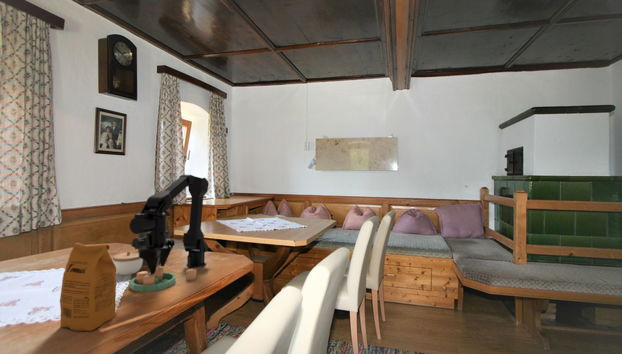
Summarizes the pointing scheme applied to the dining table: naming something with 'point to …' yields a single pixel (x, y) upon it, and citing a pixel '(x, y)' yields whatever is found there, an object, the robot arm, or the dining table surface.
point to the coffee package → (88, 288)
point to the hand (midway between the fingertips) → (157, 269)
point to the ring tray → (166, 282)
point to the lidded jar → (127, 263)
